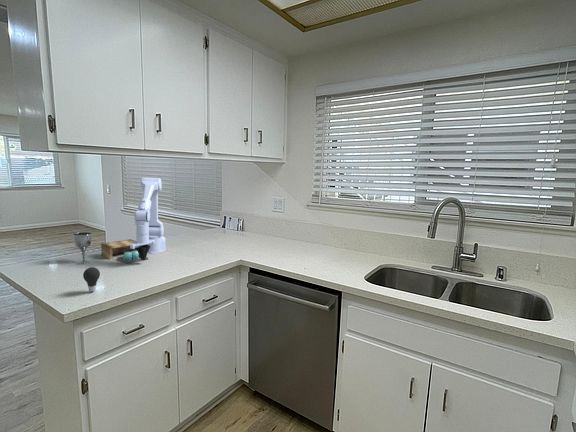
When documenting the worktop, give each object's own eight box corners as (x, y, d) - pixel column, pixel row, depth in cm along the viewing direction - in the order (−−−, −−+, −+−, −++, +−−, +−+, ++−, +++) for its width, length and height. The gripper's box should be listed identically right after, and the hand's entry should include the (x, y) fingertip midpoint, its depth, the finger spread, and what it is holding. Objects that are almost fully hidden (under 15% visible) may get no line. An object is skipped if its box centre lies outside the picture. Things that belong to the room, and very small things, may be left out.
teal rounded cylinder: (139, 258, 171) (139, 250, 171) (137, 260, 168) (137, 252, 167) (132, 258, 171) (132, 250, 170) (130, 260, 167) (130, 252, 167)
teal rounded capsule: (129, 259, 169) (129, 251, 168) (133, 260, 167) (133, 252, 166) (122, 260, 166) (122, 252, 165) (126, 261, 164) (126, 253, 163)
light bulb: (86, 295, 121) (85, 270, 119) (81, 291, 124) (80, 267, 123) (102, 292, 125) (101, 267, 123) (97, 288, 128) (96, 264, 127)
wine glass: (84, 265, 156) (82, 235, 153) (70, 263, 157) (68, 234, 155) (96, 261, 163) (95, 232, 161) (83, 259, 165) (82, 231, 163)
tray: (137, 257, 176) (137, 253, 176) (148, 261, 169) (148, 257, 169) (117, 261, 167) (117, 257, 167) (127, 265, 161) (127, 261, 160)
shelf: (130, 250, 185) (130, 239, 184) (139, 254, 179) (139, 242, 178) (101, 256, 172) (101, 243, 171) (110, 259, 167) (109, 246, 166)
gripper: (147, 230, 168) (147, 255, 170) (124, 235, 154) (125, 262, 156) (157, 231, 166) (158, 257, 167) (136, 236, 152) (136, 264, 154)
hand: (143, 259), depth 162 cm, fingers closed
